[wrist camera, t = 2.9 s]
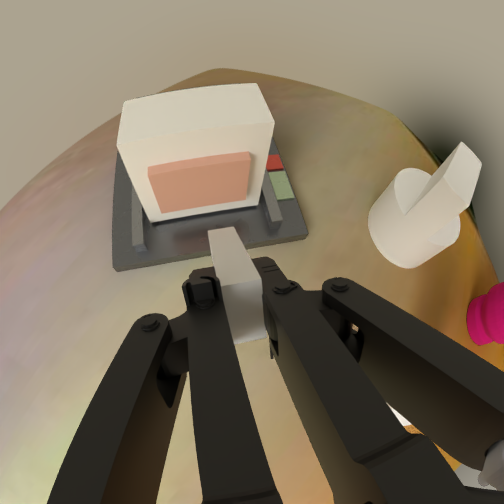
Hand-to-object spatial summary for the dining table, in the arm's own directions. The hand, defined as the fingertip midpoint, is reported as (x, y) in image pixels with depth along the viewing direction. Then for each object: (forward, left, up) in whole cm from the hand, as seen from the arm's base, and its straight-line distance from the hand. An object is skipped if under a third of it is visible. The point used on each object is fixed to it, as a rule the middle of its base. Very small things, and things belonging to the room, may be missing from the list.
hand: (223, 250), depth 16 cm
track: (-1, +12, -8) cm, 15 cm away
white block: (-1, +9, -7) cm, 11 cm away
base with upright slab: (+20, +2, -9) cm, 22 cm away
